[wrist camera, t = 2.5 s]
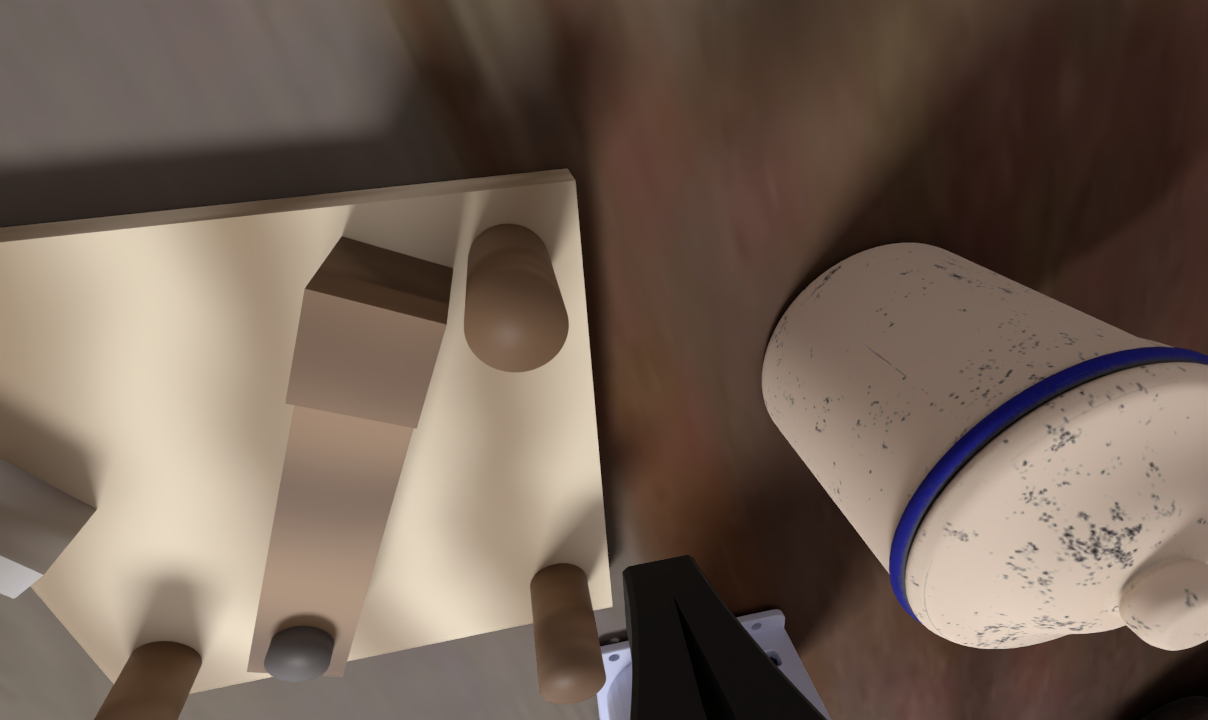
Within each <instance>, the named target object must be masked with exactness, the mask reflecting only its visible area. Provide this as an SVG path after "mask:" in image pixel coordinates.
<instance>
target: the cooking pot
mask: <svg viewBox="0 0 1208 720" xmlns="http://www.w3.org/2000/svg"><path fill="white" fill-rule="evenodd" d="M1141 720H1208V697H1203V696H1190V697H1185V698H1181V699H1178V700H1175V701H1173V702H1170V703H1168V704H1166V705H1163V706H1161V707H1160V708H1158V709H1156V710H1154V711H1152V712H1151V713H1149V714H1148V715H1146V716H1145V717H1143V718H1142V719H1141Z"/></svg>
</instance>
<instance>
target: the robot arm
mask: <svg viewBox="0 0 1208 720" xmlns="http://www.w3.org/2000/svg"><path fill="white" fill-rule="evenodd" d="M623 586H624V601H625V615H626V629H627V635H628V640H629V641H624V642H619V643H615V644H610V645H605V646H601V647H600V648H601V653H602V658H603V663H604V668H605V673H606V682H605V684H604V686H603V688H602V689H601V690H600V691H599V692H598V693H597V701H598V710H599V718H600V720H831V718H830V716H829V714H828V712H827V710H826V708H825V706H824V705H823V703H822V701H821V699H820V697H819V695H818V693H817V691H816V689H815V687H814V685H813V683H812V681H811V679H810V677H809V675H808V673H807V671H806V669H805V668H804V666H803V664H802V662H801V660H800V658H799V656H798V654H797V652H796V650H795V648H794V646H793V644H792V642H791V640H790V638H789V636H788V634H787V632H786V631H785V629H784V624H785V616H784V615H783V613H782V611H781V610H778V609H773V610H768V611H764V612H759V613H754V614H750V615H745V616H741V617H735V616H734V614H733V613H732V612H731V610H730V609H729V608H728V606H727V605H726V604H725V603H724V601H723V600H722V599H721V597H720V596H719V595H718V593H717V592H716V591H715V589H714V588H713V586H712V585H711V584H710V582H709V581H708V579H707V578H706V577H705V575H704V574H703V572H702V571H701V569H700V568H699V566H698V565H697V563H696V562H695V560H694V558H692V557H691V556H689V555H685V556H680V557H675V558H670V559H664V560H659V561H654V562H649V563H644V564H639V565H634V566H629V567H627V568H626V569H625V570H624V571H623Z"/></svg>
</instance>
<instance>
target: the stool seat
mask: <svg viewBox="0 0 1208 720" xmlns="http://www.w3.org/2000/svg"><path fill="white" fill-rule="evenodd" d="M341 236H343V237H346V238H350V239H353V240H357V241H360V242H364V243H367V244H371V245H374V246H378V247H381V248H385V249H388V250H392V251H395V252H398V253H402V254H405V255H409V256H412V257H416V258H419V259H423V260H426V261H430V262H433V263H437V264H440V265H444V266H447V267H451V268H453V277H452V285H451V293H450V302H449V310H448V318H447V325H446V329H445V332H444V336H443V339H442V343H441V346H440V350H439V353H438V357H437V360H436V364H435V367H434V370H433V374H432V377H431V381H430V384H429V388H428V391H427V395H426V398H425V402H424V405H423V409H422V412H421V416H420V419H419V422H418V426H417V429H416V428H414V429H413V432H412V436H411V439H410V443H409V446H408V450H407V453H406V457H405V460H404V464H403V467H402V471H401V474H400V478H399V481H398V485H397V488H396V492H395V495H394V499H393V502H392V506H391V509H390V513H389V516H388V520H387V523H386V527H385V530H384V534H383V537H382V541H381V544H380V548H379V551H378V555H377V558H376V562H375V565H374V569H373V572H372V576H371V579H370V583H369V586H368V590H367V593H366V597H365V600H364V604H363V607H362V611H361V614H360V618H359V621H358V625H357V628H356V632H355V635H354V639H353V642H352V646H351V649H350V653H349V656H348V660H347V661H351V660H356V659H361V658H366V657H370V656H375V655H380V654H385V653H390V652H395V651H400V650H404V649H409V648H414V647H419V646H424V645H429V644H434V643H438V642H443V641H448V640H453V639H458V638H463V637H467V636H472V635H477V634H482V633H487V632H492V631H497V630H501V629H506V628H511V627H516V626H521V625H526V624H531V623H533V626H534V638H535V649H536V660H537V671H538V683H539V692H540V695H541V696H542V697H543V698H544V699H545V700H547V701H548V702H551V703H555V704H573V703H578V702H581V701H584V700H587V699H589V698H591V697H592V696H594V695H595V694H597V693H598V692H599V691H600V690H601V689H602V688H603V686H604V684H605V682H606V673H605V668H604V663H603V658H602V653H601V648H600V643H599V638H598V633H597V627H596V622H595V617H594V612H593V611H594V610H598V609H603V608H608V607H612V596H611V584H610V573H609V561H608V550H607V538H606V527H605V515H604V504H603V492H602V481H601V469H600V458H599V446H598V435H597V423H596V411H595V400H594V388H593V377H592V365H591V354H590V342H589V331H588V319H587V308H586V296H585V285H584V273H583V261H582V250H581V238H580V227H579V215H578V204H577V192H576V181H575V179H574V178H573V176H572V175H571V173H570V172H569V170H568V168H567V169H557V170H548V171H538V172H529V173H519V174H510V175H500V176H490V177H481V178H471V179H462V180H452V181H443V182H433V183H424V184H414V185H404V186H395V187H385V188H376V189H366V190H357V191H347V192H337V193H328V194H318V195H309V196H299V197H290V198H280V199H271V200H261V201H251V202H242V203H232V204H223V205H213V206H204V207H194V208H185V209H175V210H165V211H156V212H146V213H137V214H127V215H118V216H108V217H98V218H89V219H79V220H70V221H60V222H51V223H41V224H32V225H22V226H12V227H3V228H0V593H1V594H3V595H6V596H8V597H11V598H13V599H14V598H16V597H17V596H18V595H19V594H21V593H22V592H23V591H24V590H26V589H27V588H28V587H29V586H31V587H32V589H33V590H34V591H35V592H36V593H37V594H38V596H39V597H40V598H41V599H42V600H43V601H44V603H45V604H46V605H47V606H48V607H49V609H50V610H51V611H52V612H53V613H54V614H55V616H56V617H57V618H58V619H59V620H60V621H61V623H62V624H63V625H64V626H65V627H66V629H67V630H68V631H69V632H70V633H71V634H72V636H73V637H74V638H75V639H76V640H77V641H78V643H79V644H80V645H81V646H82V647H83V649H84V650H85V651H86V652H87V653H88V654H89V656H90V657H91V658H92V659H93V660H94V661H95V663H96V664H97V665H98V666H99V667H100V669H101V670H102V671H103V672H104V673H105V674H106V676H107V677H108V678H109V679H110V680H111V682H112V683H113V684H114V685H113V687H112V689H111V691H110V692H109V694H108V696H107V698H106V699H105V701H104V703H103V705H102V706H101V708H100V710H99V712H98V713H97V715H96V717H95V719H94V720H178V717H179V715H180V713H181V711H182V708H183V706H184V704H185V702H186V699H187V697H188V695H189V694H191V693H196V692H201V691H206V690H210V689H215V688H220V687H225V686H230V685H235V684H240V683H244V682H249V681H254V680H259V679H264V678H269V677H273V676H271V675H270V674H269V673H254V672H247V667H248V662H249V656H250V650H251V645H252V639H253V634H254V628H255V622H256V617H257V611H258V605H259V600H260V594H261V589H262V583H263V577H264V572H265V566H266V560H267V555H268V549H269V544H270V538H271V532H272V527H273V521H274V515H275V510H276V504H277V498H278V493H279V487H280V482H281V476H282V470H283V465H284V459H285V453H286V448H287V442H288V437H289V431H290V425H291V420H292V414H293V408H294V405H290V404H285V401H286V396H287V390H288V384H289V378H290V372H291V366H292V360H293V354H294V348H295V343H296V337H297V331H298V325H299V319H300V313H301V307H302V301H303V295H304V290H305V287H306V286H307V285H308V283H309V282H310V280H311V279H312V277H313V276H314V275H315V273H316V272H317V270H318V269H319V268H320V266H321V265H322V263H323V262H324V260H325V259H326V258H327V256H328V255H329V253H330V252H331V250H332V249H333V248H334V246H335V245H336V243H337V242H338V241H339V239H340V238H341Z"/></svg>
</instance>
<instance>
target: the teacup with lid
mask: <svg viewBox="0 0 1208 720" xmlns="http://www.w3.org/2000/svg"><path fill="white" fill-rule="evenodd" d="M762 391H763V397H764V401H765V405H766V407H767V410H768V413H769V414H770V416H771V418H772V420H773V422H774V423H775V424H776V426H777V427H778V428H779V430H780V431H781V432H782V434H783V435H784V436H785V438H786V439H787V440H788V442H789V443H790V444H791V446H792V447H793V448H794V449H795V451H796V452H797V453H798V455H799V456H800V457H801V459H802V460H803V461H804V463H805V464H806V465H807V467H808V468H809V469H810V470H811V472H812V473H813V474H814V476H815V477H816V478H817V480H818V481H819V482H820V484H821V485H822V486H823V488H824V489H825V490H826V491H827V493H828V494H829V495H830V497H831V498H832V499H833V501H834V502H835V503H836V505H837V506H838V507H839V509H840V510H841V511H842V513H843V514H844V515H845V516H846V518H847V519H848V520H849V522H850V523H851V524H852V526H853V527H854V528H855V530H856V531H857V532H858V534H859V535H860V536H861V537H862V539H863V540H864V541H865V543H866V544H867V545H868V547H869V548H870V549H871V551H872V552H873V553H874V555H875V556H876V557H877V558H878V560H879V561H880V562H881V564H882V565H883V566H884V568H885V569H886V570H887V572H888V573H889V574H890V581H891V585H892V588H893V592H894V594H895V596H896V598H897V600H898V601H899V603H900V604H901V605H902V607H903V608H904V609H905V611H906V612H907V613H908V614H910V615H911V616H912V617H913V618H914V619H915V620H917V621H919V622H920V623H922V624H923V625H925V626H926V627H927V628H928V629H929V630H931V631H932V632H934V633H935V634H937V635H939V636H941V637H943V638H946V639H948V640H950V641H952V642H955V643H958V644H961V645H965V646H969V647H975V648H985V649H1006V648H1017V647H1023V646H1029V645H1033V644H1038V643H1042V642H1046V641H1049V640H1053V639H1056V638H1059V637H1062V636H1065V635H1068V634H1085V633H1094V632H1102V631H1107V630H1112V629H1115V628H1119V627H1122V626H1125V625H1127V626H1128V627H1129V628H1130V629H1131V630H1132V631H1133V632H1134V633H1136V634H1137V635H1138V636H1139V637H1140V638H1141V639H1142V640H1144V641H1145V642H1147V643H1148V644H1150V645H1152V646H1155V647H1158V648H1162V649H1165V650H1182V649H1187V648H1190V647H1193V646H1196V645H1198V644H1201V643H1203V642H1205V641H1207V640H1208V356H1207V355H1204V354H1201V353H1198V352H1195V351H1192V350H1188V349H1182V348H1176V347H1172V346H1169V345H1166V344H1162V343H1159V342H1155V341H1151V340H1147V339H1143V338H1138V337H1136V336H1134V335H1131V334H1129V333H1127V332H1125V331H1123V330H1120V329H1118V328H1116V327H1114V326H1112V325H1109V324H1107V323H1105V322H1103V321H1101V320H1098V319H1096V318H1094V317H1092V316H1090V315H1088V314H1085V313H1083V312H1081V311H1079V310H1077V309H1074V308H1072V307H1070V306H1068V305H1066V304H1063V303H1061V302H1059V301H1057V300H1055V299H1052V298H1050V297H1048V296H1046V295H1044V294H1041V293H1039V292H1037V291H1035V290H1033V289H1030V288H1028V287H1026V286H1024V285H1022V284H1020V283H1017V282H1015V281H1013V280H1011V279H1009V278H1006V277H1004V276H1002V275H1000V274H998V273H995V272H993V271H991V270H989V269H987V268H984V267H982V266H980V265H978V264H976V263H973V262H971V261H969V260H967V259H965V258H962V257H960V256H958V255H956V254H954V253H952V252H949V251H947V250H945V249H942V248H939V247H936V246H932V245H928V244H922V243H895V244H888V245H883V246H878V247H874V248H871V249H868V250H865V251H862V252H860V253H857V254H855V255H853V256H851V257H849V258H847V259H845V260H843V261H841V262H839V263H838V264H836V265H834V266H833V267H831V268H830V269H828V270H827V271H825V272H824V273H823V274H821V275H820V276H819V277H818V278H816V279H815V280H814V281H813V282H812V283H810V284H809V285H808V286H807V287H806V288H805V289H804V290H803V291H802V292H801V293H800V294H799V295H798V297H797V298H796V299H795V300H794V301H793V302H792V304H791V305H790V306H789V308H788V309H787V310H786V312H785V313H784V315H783V316H782V318H781V319H780V321H779V323H778V324H777V326H776V328H775V330H774V332H773V334H772V336H771V339H770V341H769V344H768V347H767V350H766V353H765V357H764V362H763V368H762Z"/></svg>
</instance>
